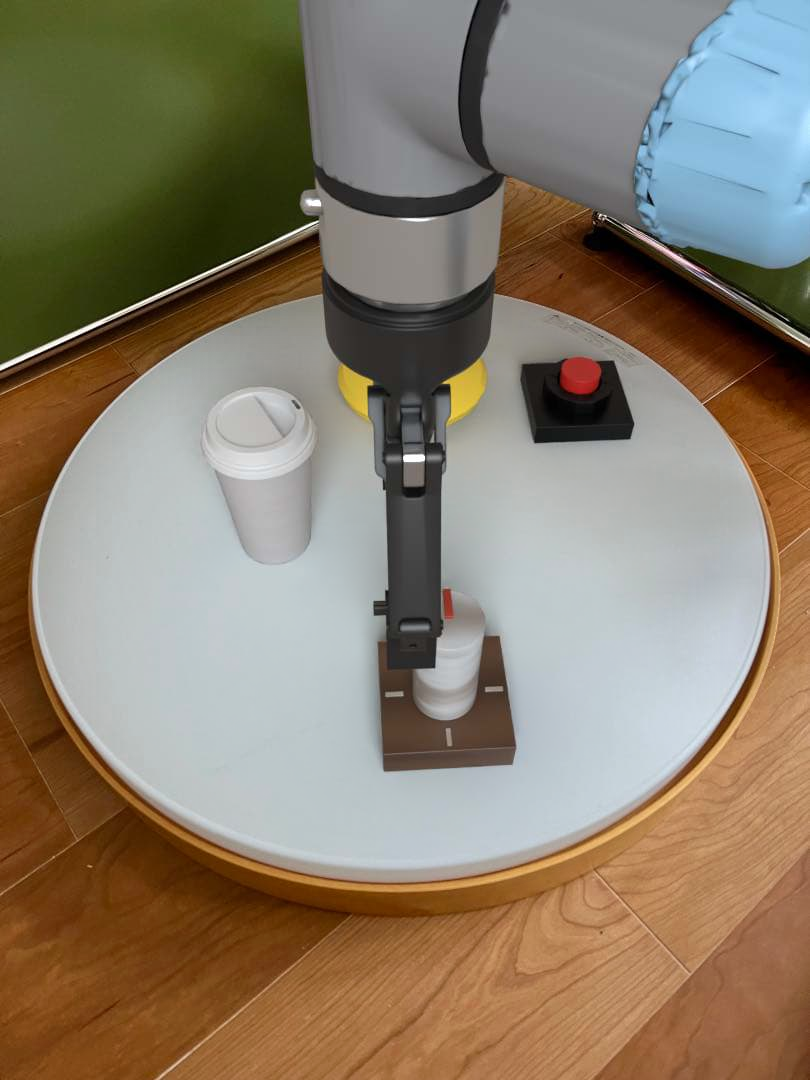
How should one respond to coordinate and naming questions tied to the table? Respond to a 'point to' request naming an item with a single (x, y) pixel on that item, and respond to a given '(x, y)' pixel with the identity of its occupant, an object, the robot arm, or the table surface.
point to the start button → (580, 375)
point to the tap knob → (452, 660)
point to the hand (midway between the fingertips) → (406, 568)
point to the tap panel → (447, 742)
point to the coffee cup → (264, 469)
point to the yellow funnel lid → (463, 385)
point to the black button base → (575, 406)
